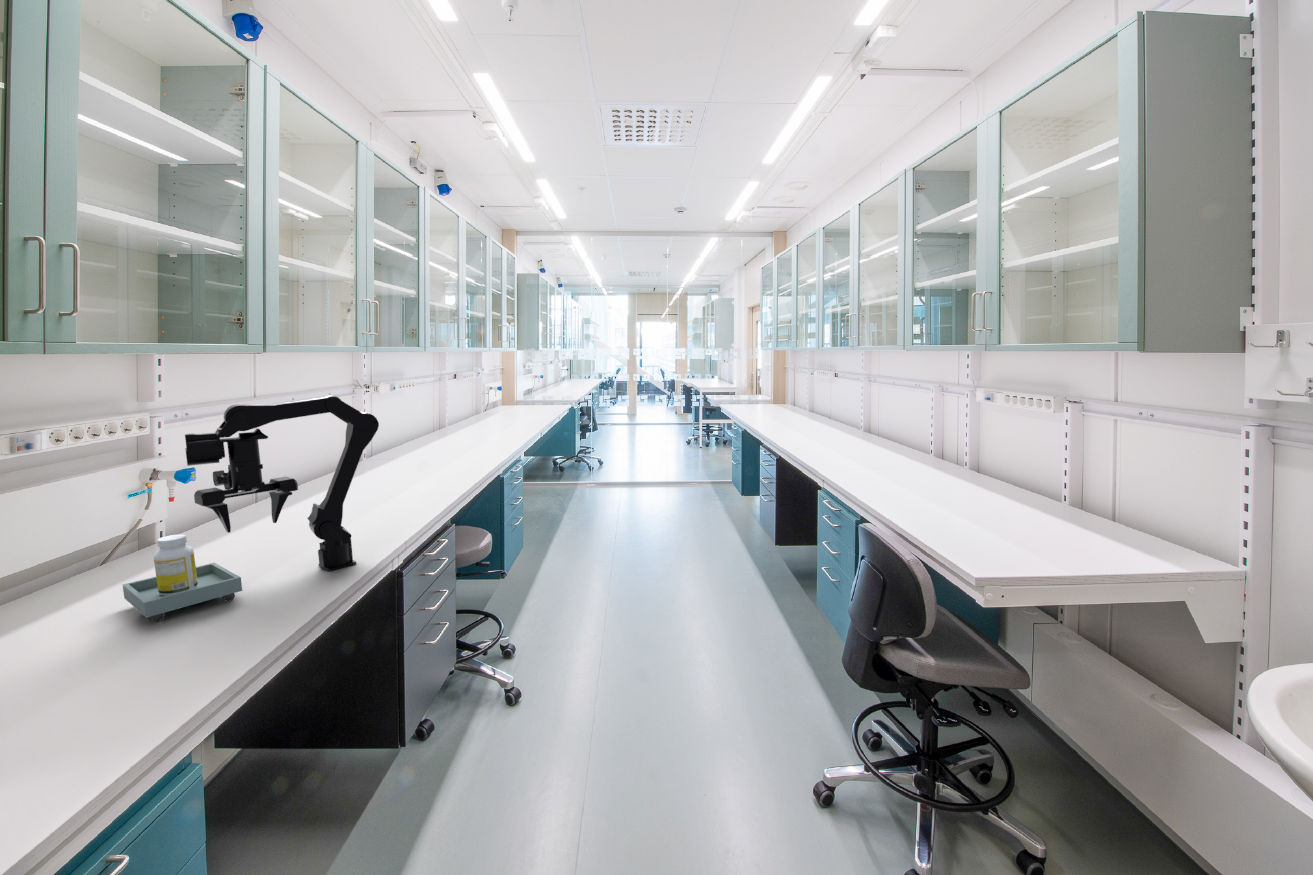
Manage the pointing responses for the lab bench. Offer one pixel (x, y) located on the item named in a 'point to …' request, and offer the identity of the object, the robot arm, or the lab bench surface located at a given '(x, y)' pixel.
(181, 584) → the pill bottle
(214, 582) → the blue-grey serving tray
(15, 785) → the lab bench surface
